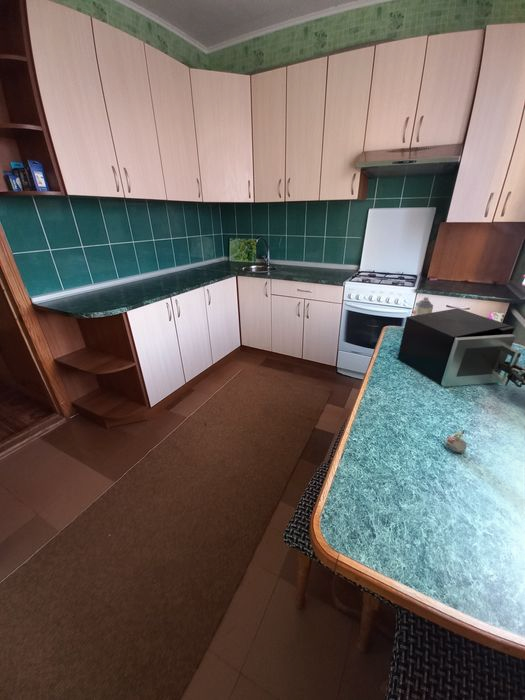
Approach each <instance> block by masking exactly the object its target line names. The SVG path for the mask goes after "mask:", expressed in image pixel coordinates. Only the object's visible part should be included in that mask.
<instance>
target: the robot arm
mask: <svg viewBox="0 0 525 700" xmlns="http://www.w3.org/2000/svg"><path fill="white" fill-rule="evenodd" d="M509 362H510V361H509V360H506V361H505V362H504V363H499V365H498V367H497V368H498V369H499V370H502V371H501V372H503V373H505V372H506V373H508V375H507V378H508V379H509V382H511V383H512V384H514V385H515V386H516V387H518V388H522V386H525V366H522V365H517V364H516V367H515V368H513V367H511V366H509V365H508V364H509Z"/></svg>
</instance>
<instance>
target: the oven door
mask: <svg viewBox="0 0 525 700" xmlns="http://www.w3.org/2000/svg"><path fill="white" fill-rule="evenodd" d="M515 339H516V335H514V334H508V335H492V336H477V337H461V338H455V340H454V343H453V346H452V349H451V353H450V356H449V359H448V362H447V365H446V369H445V372H444V375H443V378H442V382H441V384H440V385H441V386H442V387H443V388H445V387H459V386H472V385H484V384H485V385H486V384H496V383H498V384H500V386H503V387H507V386H508V385H509V383H510V380H509V379H508V378H507V375H508V373H506V372H504V373H503V375H502V374H501V373H502V372H503V371H502V370H499V369H498V368H497V367H498V365H499V363H504V362H506V361H507V358H508V356H510V360H509V361H508V362H509V364H508V365H509V366H511V367H513V368H515V367H516V365H517V364H518V362H519V360H520V358H521V355H522V351H520V350H518V349H516V348H514V347H512V346H513V344H514V342H515Z"/></svg>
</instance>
